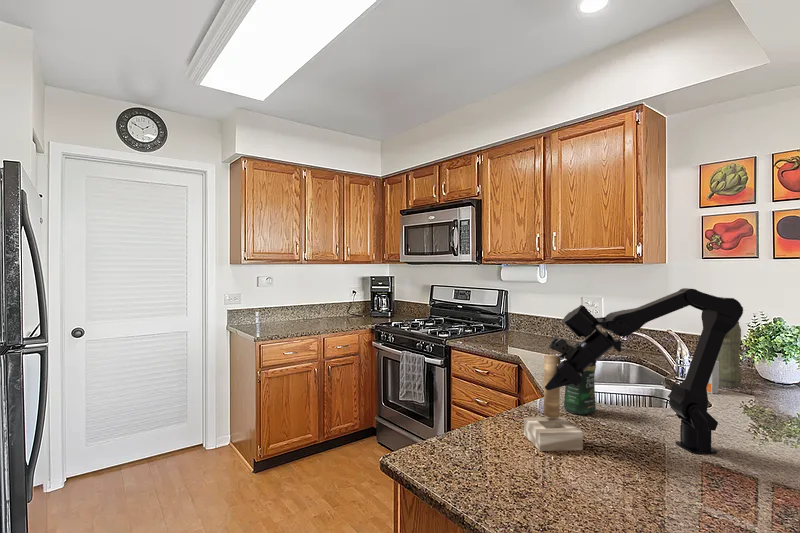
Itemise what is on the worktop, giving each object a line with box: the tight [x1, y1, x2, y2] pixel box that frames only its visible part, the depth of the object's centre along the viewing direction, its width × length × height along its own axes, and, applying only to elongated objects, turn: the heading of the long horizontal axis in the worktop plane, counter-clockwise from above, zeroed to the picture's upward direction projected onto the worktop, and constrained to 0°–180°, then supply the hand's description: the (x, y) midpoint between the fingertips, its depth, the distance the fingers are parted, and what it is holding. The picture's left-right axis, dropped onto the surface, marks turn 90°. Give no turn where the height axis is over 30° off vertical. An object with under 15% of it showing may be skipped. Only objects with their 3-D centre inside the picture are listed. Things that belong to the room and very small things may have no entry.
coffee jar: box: [563, 362, 597, 415], centre depth 137 cm, size 10×8×19 cm
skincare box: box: [707, 361, 720, 395], centre depth 161 cm, size 6×4×12 cm
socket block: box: [523, 416, 584, 452], centre depth 112 cm, size 11×11×4 cm
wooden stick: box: [543, 354, 561, 418], centre depth 116 cm, size 4×4×16 cm
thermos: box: [716, 297, 742, 389], centre depth 171 cm, size 9×12×35 cm
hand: (546, 386), depth 116 cm, fingers closed on wooden stick, 4 cm apart
